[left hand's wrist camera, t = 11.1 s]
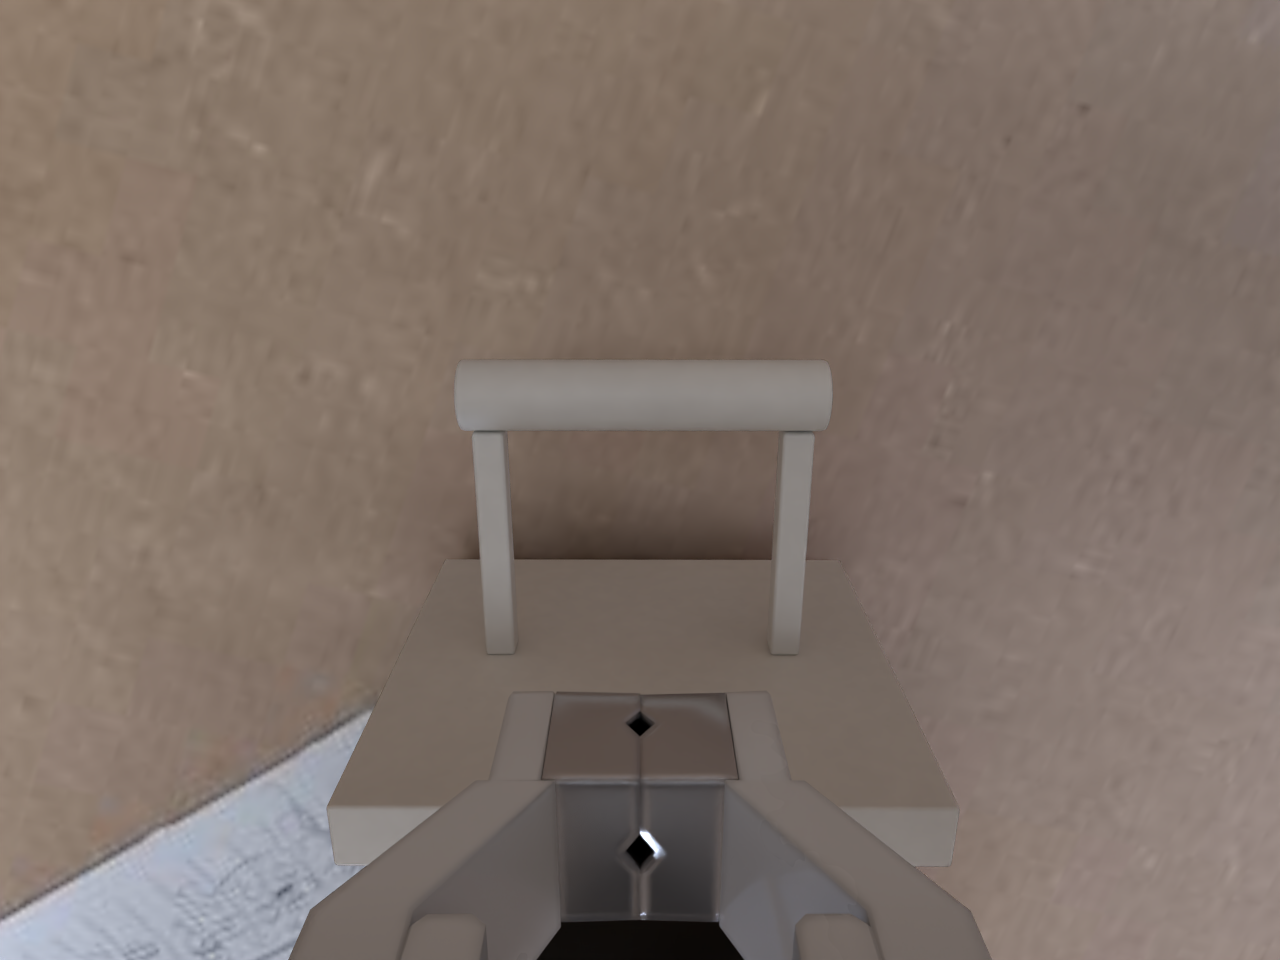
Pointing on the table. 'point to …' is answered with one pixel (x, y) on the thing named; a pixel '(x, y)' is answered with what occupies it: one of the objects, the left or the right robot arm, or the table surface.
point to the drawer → (643, 631)
